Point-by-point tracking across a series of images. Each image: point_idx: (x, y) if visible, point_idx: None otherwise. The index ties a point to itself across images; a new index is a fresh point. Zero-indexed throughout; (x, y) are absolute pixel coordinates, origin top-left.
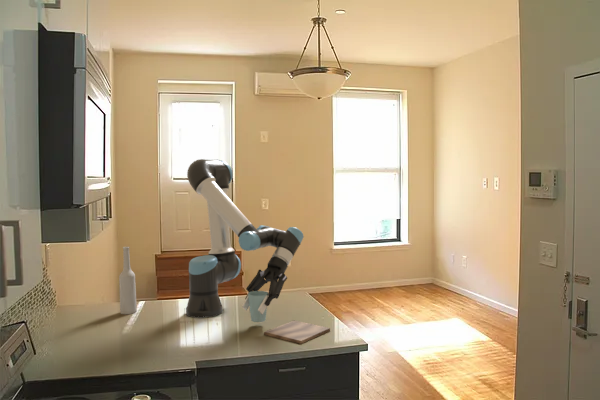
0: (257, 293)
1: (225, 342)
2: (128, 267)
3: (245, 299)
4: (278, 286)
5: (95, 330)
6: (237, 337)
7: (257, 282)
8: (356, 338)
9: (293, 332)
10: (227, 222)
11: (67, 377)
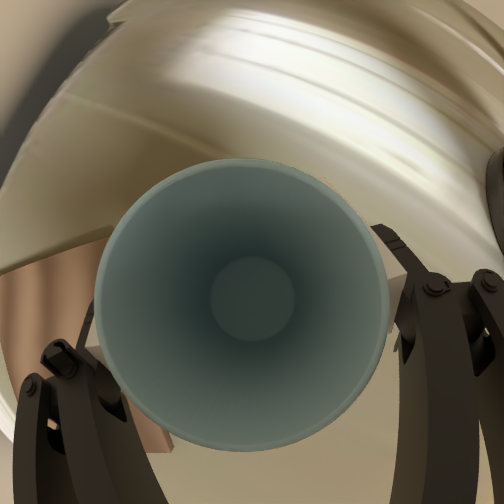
0: (349, 366)
1: (163, 84)
2: None
3: (377, 226)
4: (15, 481)
5: (444, 7)
6: (173, 131)
7: (467, 447)
8: None
9: (41, 325)
10: None
11: None
